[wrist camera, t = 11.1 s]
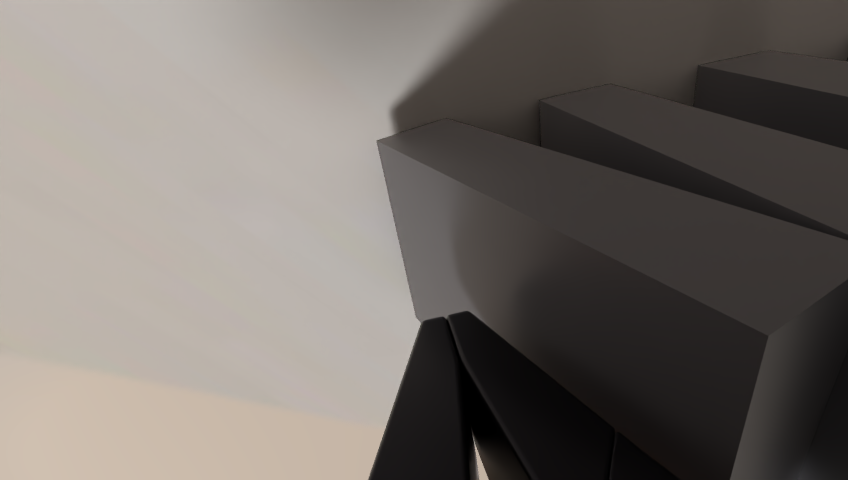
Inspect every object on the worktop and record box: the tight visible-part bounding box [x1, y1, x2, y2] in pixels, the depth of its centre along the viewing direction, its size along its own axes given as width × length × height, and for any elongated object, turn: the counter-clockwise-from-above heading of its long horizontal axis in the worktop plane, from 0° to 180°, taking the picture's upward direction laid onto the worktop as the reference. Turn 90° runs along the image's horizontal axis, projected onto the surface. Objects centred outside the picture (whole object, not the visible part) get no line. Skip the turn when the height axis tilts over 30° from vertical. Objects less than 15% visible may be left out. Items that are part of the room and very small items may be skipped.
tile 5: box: [377, 118, 848, 480], centre depth 8 cm, size 2×5×8 cm, turn 9°
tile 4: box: [539, 84, 848, 480], centre depth 9 cm, size 2×5×8 cm, turn 9°
